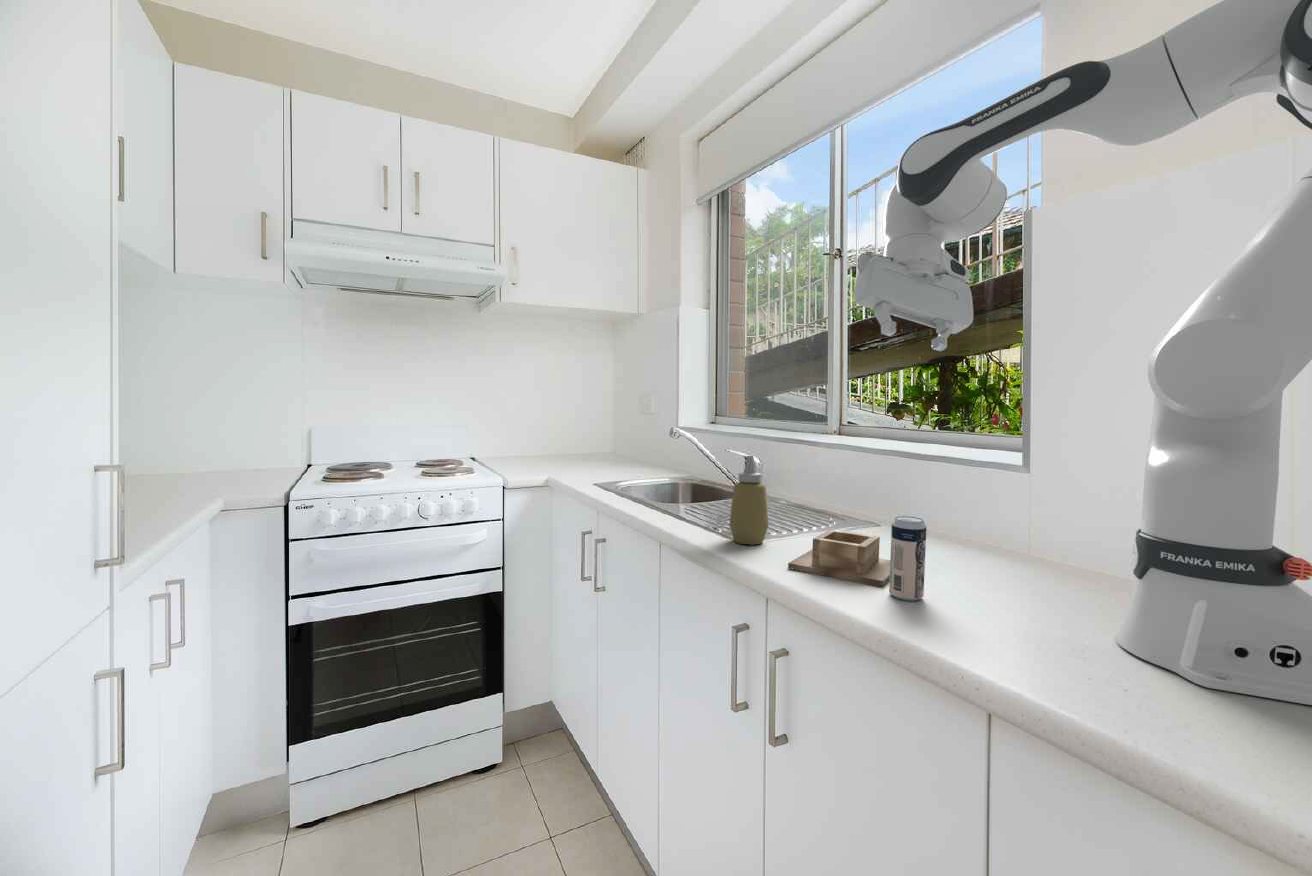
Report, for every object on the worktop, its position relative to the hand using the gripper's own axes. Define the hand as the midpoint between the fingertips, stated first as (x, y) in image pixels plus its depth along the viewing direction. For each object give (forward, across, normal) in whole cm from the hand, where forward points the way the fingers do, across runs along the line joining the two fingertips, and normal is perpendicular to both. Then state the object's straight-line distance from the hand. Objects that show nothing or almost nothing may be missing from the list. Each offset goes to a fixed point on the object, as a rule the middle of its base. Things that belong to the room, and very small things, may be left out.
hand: (914, 341), depth 89 cm
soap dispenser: (+28, -5, +44) cm, 52 cm away
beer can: (+38, +6, +9) cm, 39 cm away
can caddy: (+33, +4, +23) cm, 40 cm away
